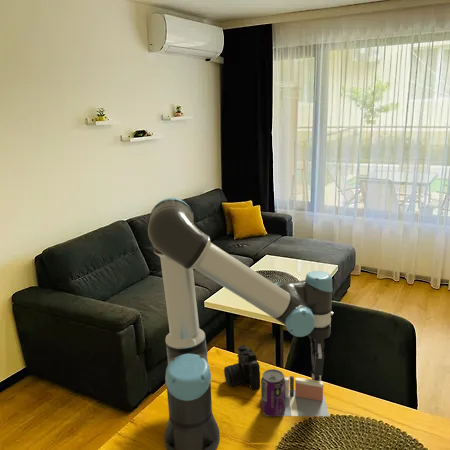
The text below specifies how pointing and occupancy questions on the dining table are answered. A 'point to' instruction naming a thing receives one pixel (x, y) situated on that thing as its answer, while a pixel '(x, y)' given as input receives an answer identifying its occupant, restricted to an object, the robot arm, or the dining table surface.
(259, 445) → the dining table surface
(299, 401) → the mat
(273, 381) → the beverage can
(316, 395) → the cream pink flat block
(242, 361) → the camera
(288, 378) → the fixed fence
